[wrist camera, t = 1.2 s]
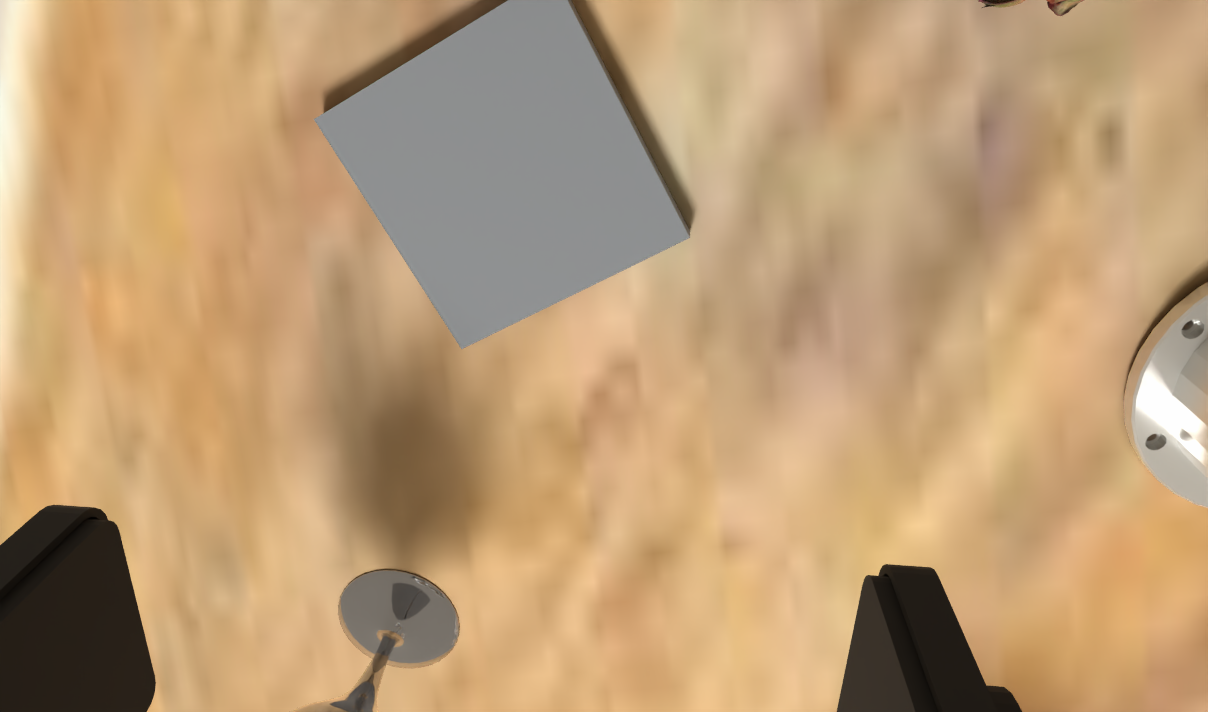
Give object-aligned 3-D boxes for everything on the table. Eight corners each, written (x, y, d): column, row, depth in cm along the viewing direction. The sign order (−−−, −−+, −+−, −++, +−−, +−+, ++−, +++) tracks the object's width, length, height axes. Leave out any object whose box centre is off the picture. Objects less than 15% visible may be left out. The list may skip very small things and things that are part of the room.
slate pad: (556, -28, 34) (553, -28, 34) (689, 231, 38) (689, 237, 37) (323, 115, 38) (313, 119, 37) (466, 340, 42) (461, 349, 41)
